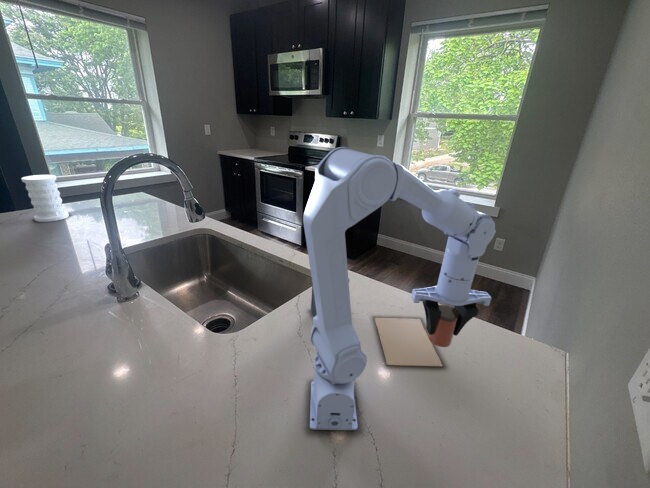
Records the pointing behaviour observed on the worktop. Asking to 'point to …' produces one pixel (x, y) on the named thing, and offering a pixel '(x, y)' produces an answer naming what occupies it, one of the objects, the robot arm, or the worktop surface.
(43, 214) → the decorative container
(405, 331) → the kraft paper
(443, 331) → the spice jar
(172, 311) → the worktop surface
